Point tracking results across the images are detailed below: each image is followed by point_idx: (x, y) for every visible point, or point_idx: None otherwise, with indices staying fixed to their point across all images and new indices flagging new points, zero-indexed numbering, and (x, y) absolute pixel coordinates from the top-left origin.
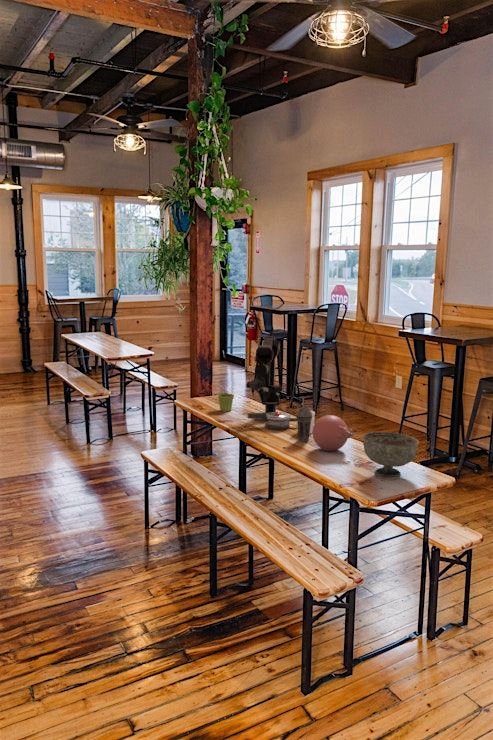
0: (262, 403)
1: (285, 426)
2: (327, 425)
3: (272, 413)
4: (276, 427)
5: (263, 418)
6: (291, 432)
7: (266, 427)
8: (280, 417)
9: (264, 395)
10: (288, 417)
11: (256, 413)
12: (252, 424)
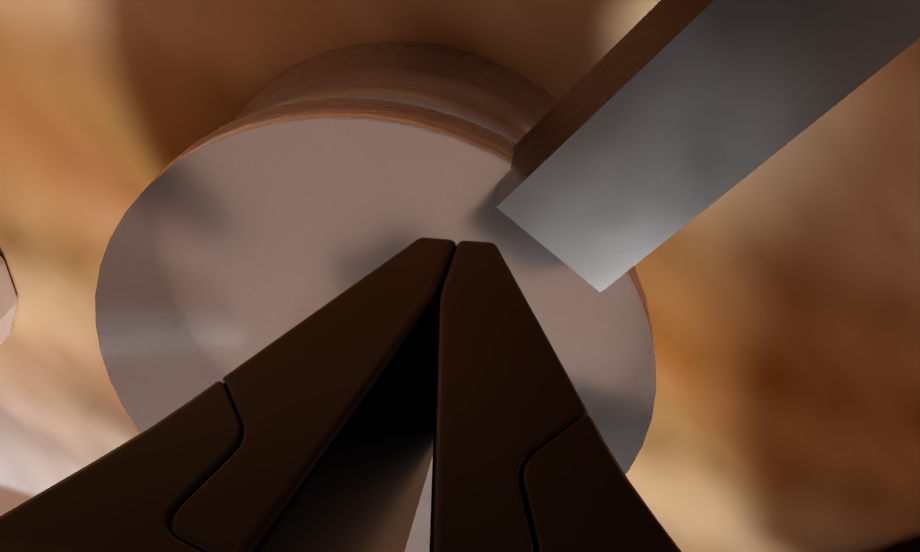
0: (470, 244)
1: None
2: None
3: None
4: (258, 95)
5: None
6: (6, 125)
7: (507, 71)
8: (179, 276)
9: (28, 504)
10: (115, 378)
11: (747, 53)
12: (895, 71)
